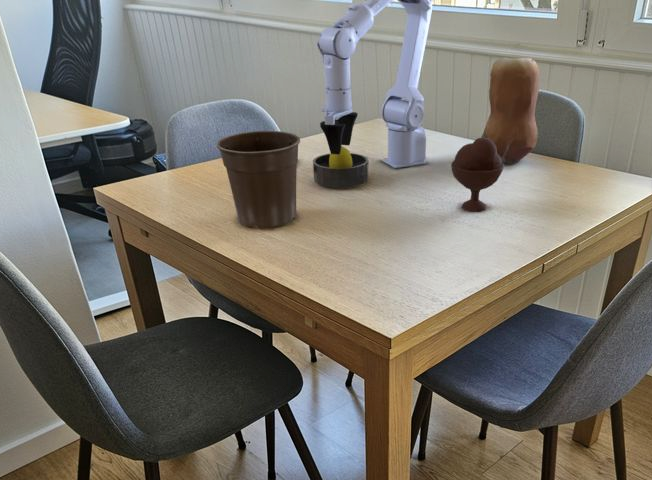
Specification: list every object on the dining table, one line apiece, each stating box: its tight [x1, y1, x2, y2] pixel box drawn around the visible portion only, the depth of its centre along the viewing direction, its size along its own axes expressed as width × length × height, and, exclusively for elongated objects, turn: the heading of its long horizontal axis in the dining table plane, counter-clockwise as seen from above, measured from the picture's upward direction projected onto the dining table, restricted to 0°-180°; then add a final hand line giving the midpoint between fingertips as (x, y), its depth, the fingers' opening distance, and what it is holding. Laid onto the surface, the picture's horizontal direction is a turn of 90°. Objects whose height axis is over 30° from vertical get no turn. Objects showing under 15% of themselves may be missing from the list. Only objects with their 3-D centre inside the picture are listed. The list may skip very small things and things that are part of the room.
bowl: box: [312, 152, 370, 189], centre depth 149 cm, size 13×13×5 cm
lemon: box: [329, 145, 352, 168], centre depth 148 cm, size 6×6×8 cm
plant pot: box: [216, 130, 301, 229], centre depth 126 cm, size 16×16×16 cm
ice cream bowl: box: [450, 137, 505, 213], centre depth 130 cm, size 11×11×15 cm
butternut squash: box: [483, 57, 540, 164], centre depth 155 cm, size 14×13×25 cm
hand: (340, 149), depth 146 cm, fingers open, 7 cm apart
